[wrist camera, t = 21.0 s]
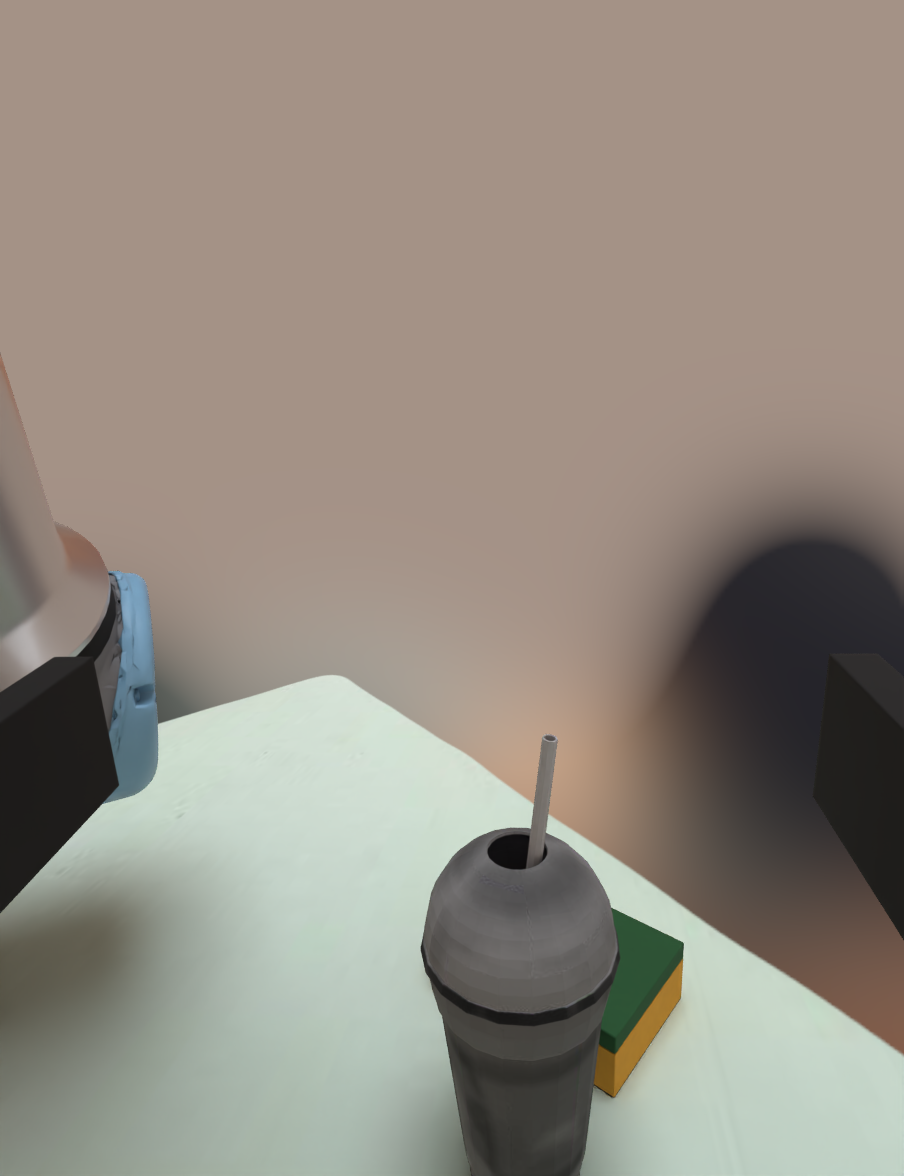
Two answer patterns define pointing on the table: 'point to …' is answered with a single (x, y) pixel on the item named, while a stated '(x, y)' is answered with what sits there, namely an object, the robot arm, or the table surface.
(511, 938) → the beverage cup
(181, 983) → the table surface
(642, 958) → the sponge
